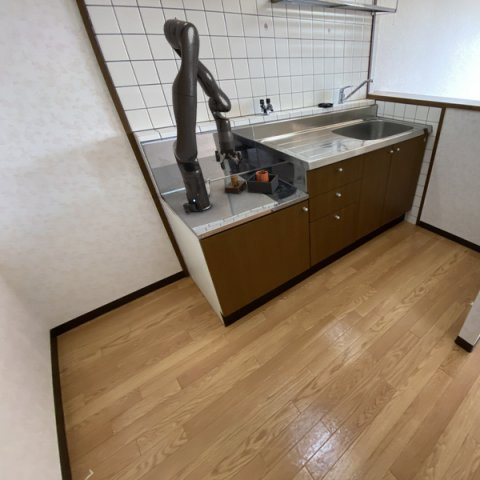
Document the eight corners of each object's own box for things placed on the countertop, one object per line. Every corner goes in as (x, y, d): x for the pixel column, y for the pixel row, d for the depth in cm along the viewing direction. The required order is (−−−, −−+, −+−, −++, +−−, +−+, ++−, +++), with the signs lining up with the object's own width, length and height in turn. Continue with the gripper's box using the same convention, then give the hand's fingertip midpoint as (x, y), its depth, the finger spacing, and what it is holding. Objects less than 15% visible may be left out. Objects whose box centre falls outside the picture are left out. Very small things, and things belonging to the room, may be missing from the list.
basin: (272, 193, 149) (271, 182, 146) (248, 191, 151) (246, 181, 148) (278, 185, 159) (277, 174, 155) (255, 183, 161) (254, 173, 157)
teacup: (198, 202, 141) (193, 188, 136) (186, 197, 146) (182, 183, 142) (220, 193, 150) (217, 179, 145) (209, 188, 155) (205, 175, 151)
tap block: (239, 193, 150) (238, 188, 148) (225, 192, 151) (224, 187, 149) (246, 185, 159) (245, 180, 157) (233, 184, 160) (232, 179, 158)
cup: (267, 190, 152) (265, 175, 146) (256, 189, 153) (254, 174, 147) (270, 185, 157) (269, 171, 152) (260, 185, 158) (258, 170, 153)
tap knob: (240, 182, 154) (238, 174, 152) (236, 185, 151) (235, 177, 148) (233, 182, 155) (232, 174, 152) (230, 184, 152) (228, 176, 149)
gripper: (209, 140, 137) (215, 171, 146) (236, 142, 136) (240, 173, 145) (216, 137, 143) (222, 166, 152) (241, 138, 142) (246, 168, 151)
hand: (231, 169), depth 149 cm, fingers open, 8 cm apart
